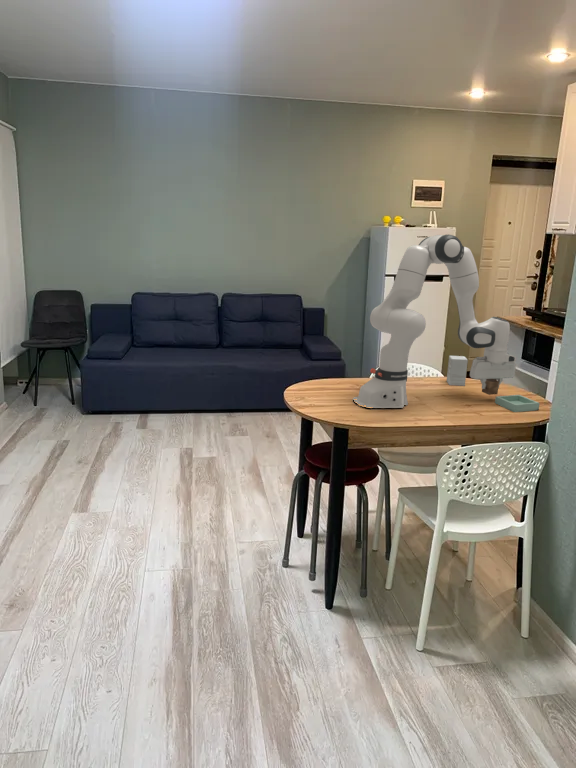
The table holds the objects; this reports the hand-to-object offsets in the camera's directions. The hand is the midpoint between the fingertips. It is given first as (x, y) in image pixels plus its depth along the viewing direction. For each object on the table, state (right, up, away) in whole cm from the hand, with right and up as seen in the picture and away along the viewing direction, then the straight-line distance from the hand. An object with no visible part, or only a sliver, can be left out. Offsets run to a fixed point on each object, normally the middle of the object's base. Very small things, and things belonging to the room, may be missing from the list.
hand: (490, 388), depth 244 cm
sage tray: (+8, -7, -7) cm, 13 cm away
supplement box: (-7, +2, +26) cm, 27 cm away
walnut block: (0, -2, 0) cm, 2 cm away
